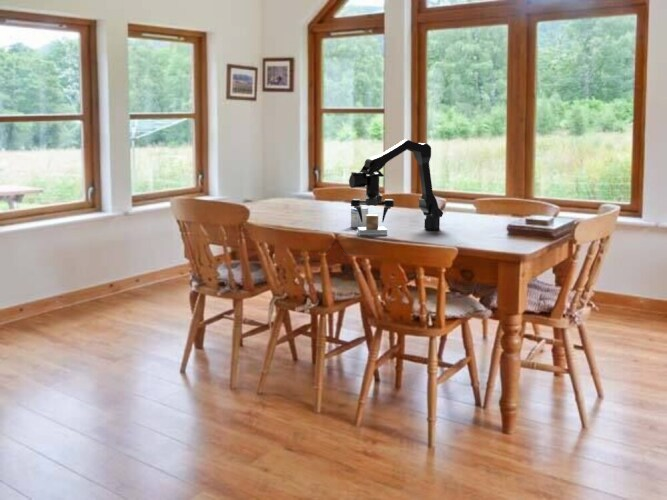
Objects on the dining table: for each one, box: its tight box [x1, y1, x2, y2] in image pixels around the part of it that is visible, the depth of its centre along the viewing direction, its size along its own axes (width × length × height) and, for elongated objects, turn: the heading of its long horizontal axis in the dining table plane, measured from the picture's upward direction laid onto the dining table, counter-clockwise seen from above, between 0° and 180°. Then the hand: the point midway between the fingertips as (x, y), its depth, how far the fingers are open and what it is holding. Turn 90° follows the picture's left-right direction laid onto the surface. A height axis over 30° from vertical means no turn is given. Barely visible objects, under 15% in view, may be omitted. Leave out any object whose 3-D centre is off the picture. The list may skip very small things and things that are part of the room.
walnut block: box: [365, 213, 379, 230], centre depth 339 cm, size 5×5×6 cm
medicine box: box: [350, 206, 369, 229], centre depth 361 cm, size 8×4×9 cm, turn 141°
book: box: [357, 226, 388, 237], centre depth 340 cm, size 12×9×3 cm
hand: (372, 222), depth 339 cm, fingers open, 9 cm apart
